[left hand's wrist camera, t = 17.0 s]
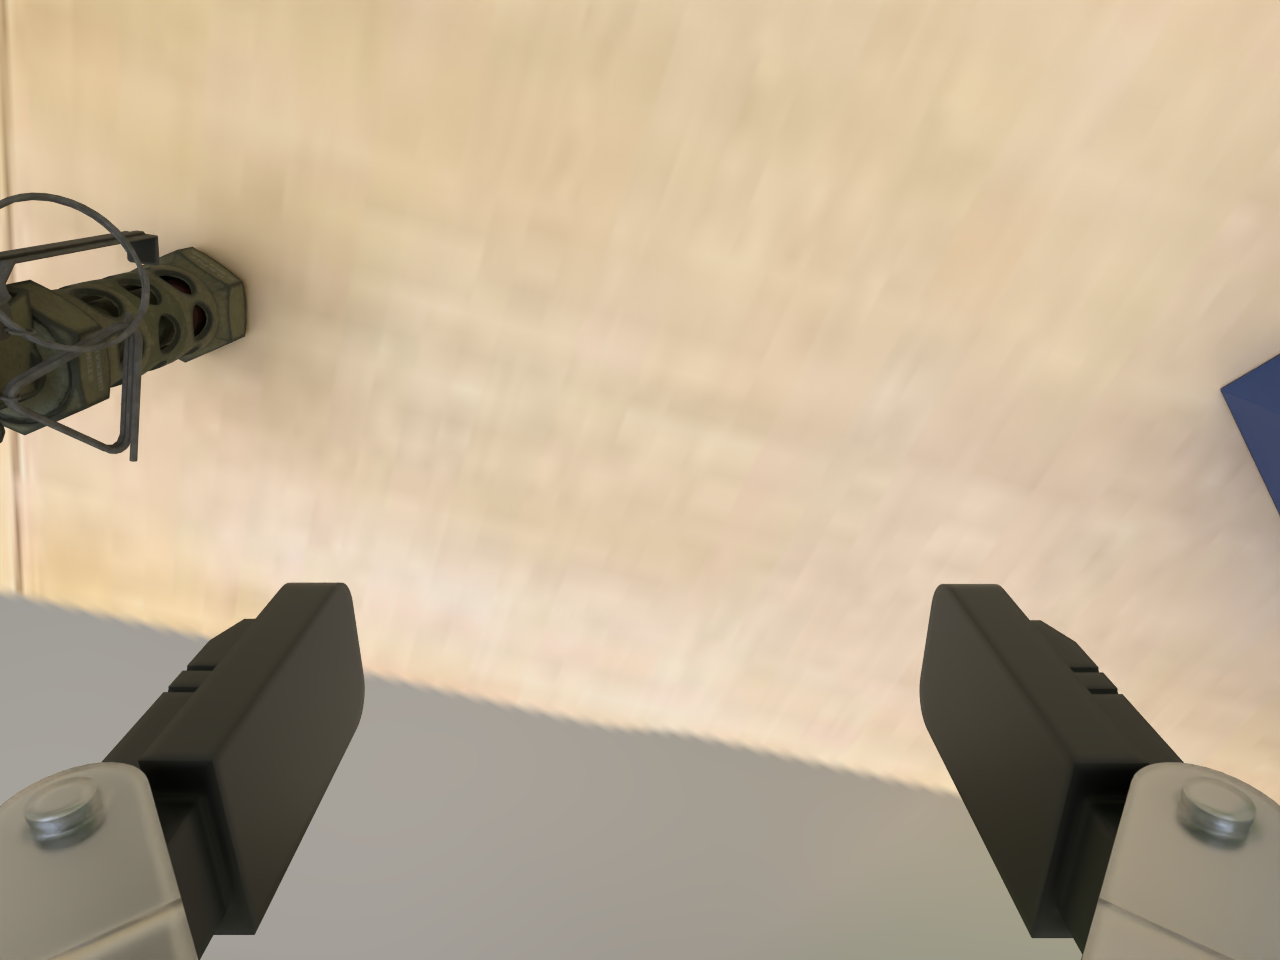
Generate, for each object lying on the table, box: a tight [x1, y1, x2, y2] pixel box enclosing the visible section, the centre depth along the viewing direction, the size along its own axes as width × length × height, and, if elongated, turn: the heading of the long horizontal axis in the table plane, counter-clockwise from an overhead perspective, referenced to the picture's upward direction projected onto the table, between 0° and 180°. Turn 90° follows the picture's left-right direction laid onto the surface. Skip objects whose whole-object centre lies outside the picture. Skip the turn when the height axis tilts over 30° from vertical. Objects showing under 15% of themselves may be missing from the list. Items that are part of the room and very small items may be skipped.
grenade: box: [0, 193, 246, 462], centre depth 31 cm, size 9×6×15 cm, turn 172°
